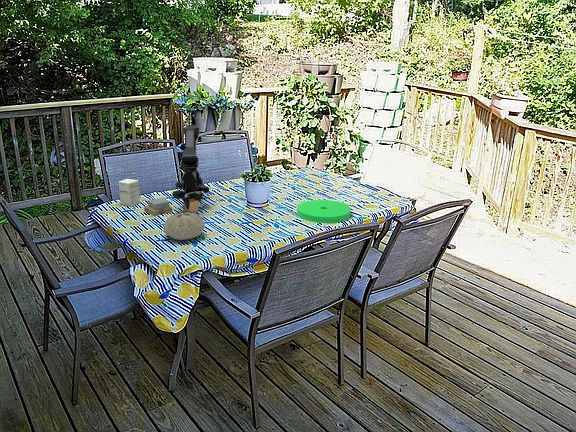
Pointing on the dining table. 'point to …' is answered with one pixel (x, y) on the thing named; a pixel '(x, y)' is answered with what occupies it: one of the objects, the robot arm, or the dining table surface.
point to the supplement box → (129, 192)
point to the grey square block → (158, 203)
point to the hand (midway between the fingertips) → (191, 207)
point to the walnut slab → (157, 211)
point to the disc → (323, 211)
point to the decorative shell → (183, 226)
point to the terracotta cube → (193, 205)
